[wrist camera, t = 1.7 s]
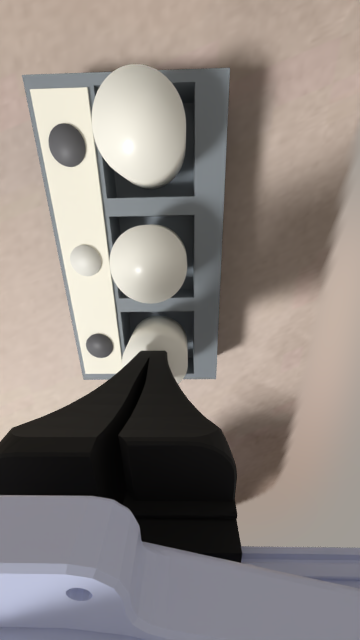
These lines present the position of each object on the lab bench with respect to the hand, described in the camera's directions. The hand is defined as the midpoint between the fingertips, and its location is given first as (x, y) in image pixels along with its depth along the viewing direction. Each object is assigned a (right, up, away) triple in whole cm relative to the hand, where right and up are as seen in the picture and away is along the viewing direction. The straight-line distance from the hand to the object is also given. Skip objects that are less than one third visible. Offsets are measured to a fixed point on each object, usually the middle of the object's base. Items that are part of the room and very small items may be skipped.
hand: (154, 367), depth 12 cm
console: (-1, +6, +3) cm, 7 cm away
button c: (0, +10, -1) cm, 10 cm away
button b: (0, +6, +1) cm, 6 cm away
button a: (0, +1, +3) cm, 3 cm away
